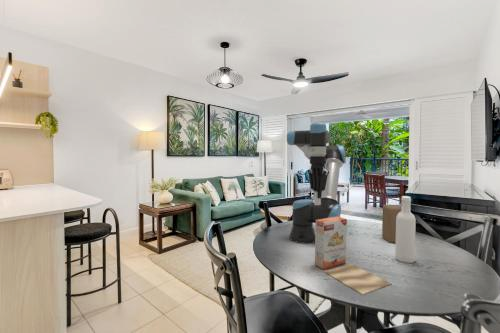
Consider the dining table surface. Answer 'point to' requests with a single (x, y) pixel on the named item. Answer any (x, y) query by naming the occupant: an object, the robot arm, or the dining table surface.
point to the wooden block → (390, 222)
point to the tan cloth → (357, 278)
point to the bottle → (405, 233)
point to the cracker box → (330, 242)
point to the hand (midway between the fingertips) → (317, 204)
